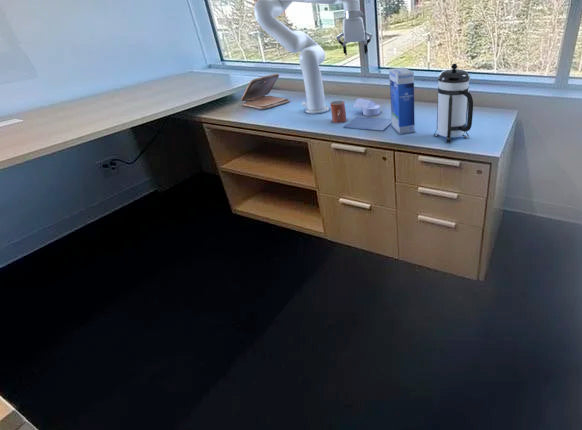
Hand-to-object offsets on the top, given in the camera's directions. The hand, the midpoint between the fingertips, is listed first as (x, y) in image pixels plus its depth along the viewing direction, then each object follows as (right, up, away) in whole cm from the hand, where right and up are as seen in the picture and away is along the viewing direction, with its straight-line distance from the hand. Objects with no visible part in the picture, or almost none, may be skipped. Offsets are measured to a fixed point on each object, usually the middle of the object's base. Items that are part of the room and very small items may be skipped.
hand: (355, 54), depth 186 cm
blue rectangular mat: (+7, -35, -3) cm, 36 cm away
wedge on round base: (+5, -25, +13) cm, 29 cm away
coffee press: (+45, -46, -23) cm, 68 cm away
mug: (-8, -33, +2) cm, 34 cm away
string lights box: (+23, -40, -11) cm, 47 cm away
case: (-56, -14, +35) cm, 67 cm away
